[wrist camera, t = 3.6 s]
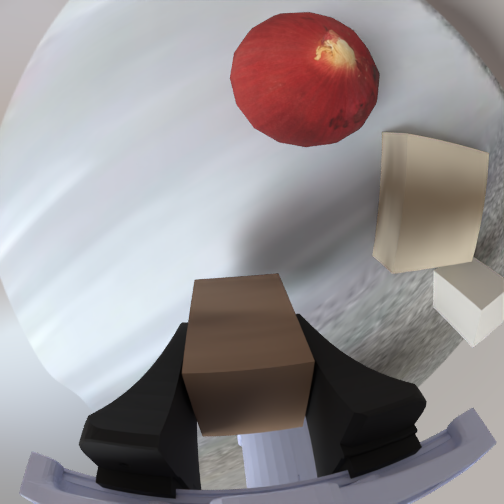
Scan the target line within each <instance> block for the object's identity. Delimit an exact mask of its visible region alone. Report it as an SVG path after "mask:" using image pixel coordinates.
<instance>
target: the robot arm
mask: <svg viewBox="0 0 504 504" xmlns="http://www.w3.org/2000/svg"><path fill="white" fill-rule="evenodd" d="M296 317H297V319H298V321H299V324H300V326H301V329H302V331H303V333H304V336H305V338H306V341H307V343H308V346H309V348H310V351H311V353H312V355H313V358H314V360H315V364H314V370H313V376H312V381H311V387H310V393H309V398H308V403H307V408H306V413H305V418H304V423H303V427H297V428H291V429H285V430H278V431H271V432H262V433H253V434H242V435H237V437H238V443H239V445H240V446H242V449H243V458H244V467H245V475H246V483H247V488H246V489H230V490H201V483H200V473H199V461H198V443H197V419H196V416H195V413H194V410H193V407H192V405H191V401H190V398H189V395H188V392H187V389H186V386H185V383H184V379H183V376H182V367H183V359H184V350H185V343H186V335H187V328H188V322H187V323H181V324H180V326H179V327H178V329H177V331H176V333H175V334H174V336H173V337H172V339H171V341H170V342H169V344H168V345H167V347H166V348H165V349H164V351H163V352H162V354H161V355H160V356H159V358H158V359H157V360H156V362H155V363H154V364H153V365H152V367H151V368H150V369H149V370H148V371H147V372H146V373H145V375H144V376H143V377H142V378H141V379H140V380H139V381H138V382H137V383H135V384H134V385H133V386H132V387H131V388H130V389H129V390H128V391H126V392H125V393H124V394H123V395H121V396H120V397H119V398H117V399H116V400H114V401H113V402H112V403H110V404H108V405H107V406H105V407H104V408H102V409H100V410H98V411H96V412H95V413H93V414H91V415H89V416H88V418H87V420H86V423H85V425H84V428H83V431H82V435H81V438H80V442H79V446H80V448H81V450H82V451H83V452H84V453H85V454H86V455H87V456H88V457H89V458H90V459H91V460H92V461H93V462H94V463H95V464H96V465H97V466H98V471H97V476H96V477H94V476H90V475H86V474H83V473H79V472H76V471H72V470H69V469H66V468H64V467H63V466H62V465H61V464H60V463H59V462H57V461H56V460H54V459H52V458H50V457H47V456H44V455H42V454H39V453H36V452H34V451H32V452H31V455H30V458H29V461H28V464H27V467H26V470H25V474H24V477H23V481H22V484H21V488H20V492H19V494H20V495H21V496H23V497H24V498H26V499H27V500H29V501H31V502H32V503H34V504H411V503H413V502H415V501H417V500H419V499H421V498H423V497H424V496H426V495H428V494H430V493H431V492H433V491H435V490H436V489H438V488H440V487H441V486H443V485H445V484H446V483H448V482H449V481H451V480H452V479H454V478H455V477H457V476H458V475H460V474H461V473H463V472H464V471H466V470H467V469H469V468H470V467H471V466H472V465H473V464H475V463H476V462H477V461H478V460H479V459H480V458H481V457H482V456H484V455H485V454H486V453H487V452H488V451H489V450H490V449H491V448H492V447H493V446H494V445H495V444H496V441H495V439H494V437H493V436H492V435H491V433H490V431H489V430H488V429H487V427H486V426H485V424H484V422H483V421H482V420H481V418H480V417H479V415H478V414H477V412H476V411H475V410H474V408H471V409H470V410H468V411H466V412H465V413H463V414H461V415H460V416H458V417H456V418H455V419H454V420H453V421H452V422H451V423H450V424H449V425H448V427H447V429H445V430H443V431H441V432H440V433H438V434H436V435H434V436H432V437H430V438H428V439H426V440H424V441H422V442H419V440H418V438H417V437H416V435H415V433H416V432H417V428H416V426H415V425H414V424H415V423H416V421H417V420H418V418H419V417H420V416H421V414H422V413H423V411H424V409H425V407H426V400H425V398H424V396H423V395H422V393H421V392H420V390H419V389H418V387H417V386H416V385H415V384H413V383H409V382H405V381H402V380H398V379H395V378H392V377H389V376H387V375H384V374H381V373H379V372H377V371H375V370H372V369H370V368H368V367H366V366H364V365H363V364H361V363H359V362H357V361H355V360H354V359H352V358H351V357H349V356H348V355H346V354H345V353H343V352H342V351H340V350H339V349H338V348H336V347H335V346H334V345H332V344H331V343H330V342H329V341H328V340H327V339H325V338H324V337H323V336H322V335H321V334H320V333H319V332H318V331H317V330H315V329H314V328H313V327H312V326H311V325H310V324H309V323H308V322H307V321H306V320H305V319H304V318H303V317H302V316H301V315H300V314H296Z"/></svg>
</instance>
